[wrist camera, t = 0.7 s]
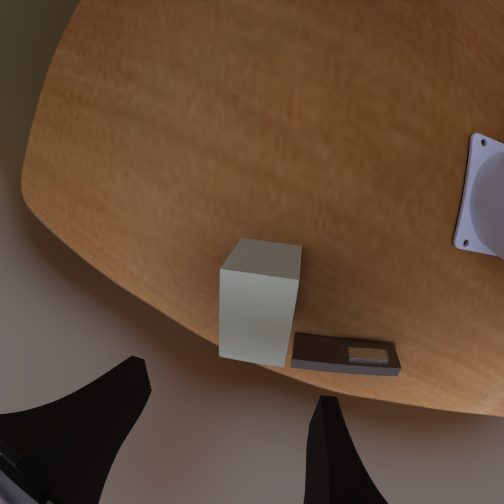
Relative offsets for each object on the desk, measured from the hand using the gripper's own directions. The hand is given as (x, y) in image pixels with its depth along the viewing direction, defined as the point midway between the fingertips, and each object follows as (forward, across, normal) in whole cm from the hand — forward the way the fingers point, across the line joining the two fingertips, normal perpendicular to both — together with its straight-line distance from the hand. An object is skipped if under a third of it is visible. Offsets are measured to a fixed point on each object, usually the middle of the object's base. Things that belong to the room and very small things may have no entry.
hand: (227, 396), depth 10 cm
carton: (+10, 0, 0) cm, 11 cm away
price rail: (+10, -7, +4) cm, 13 cm away
